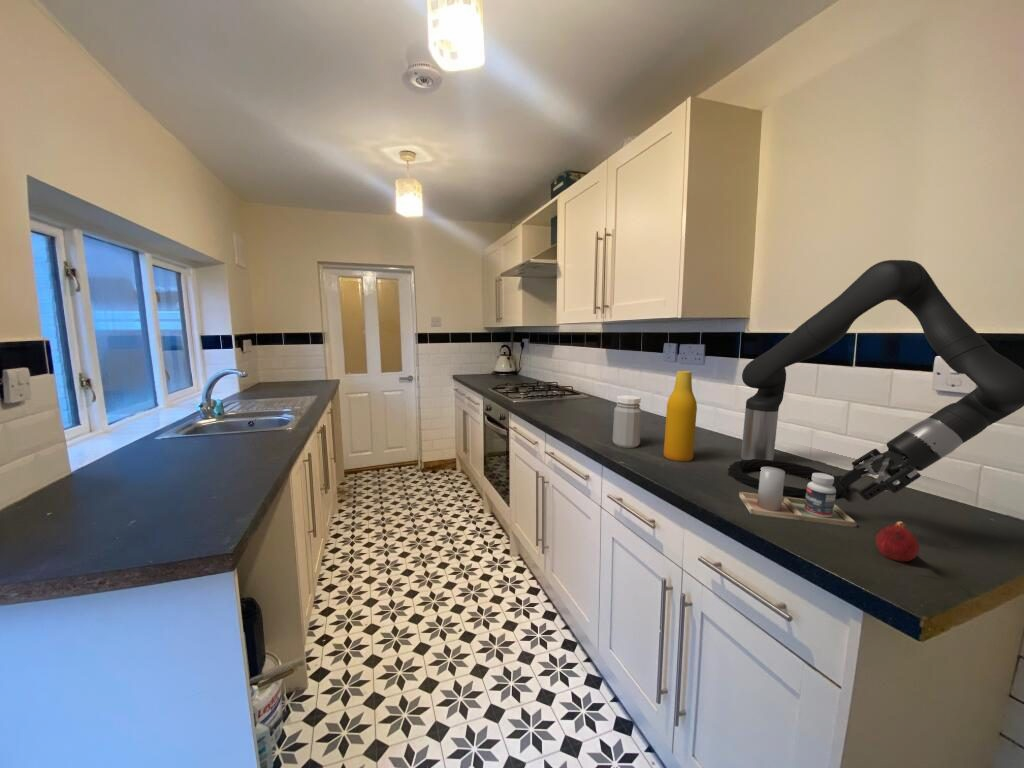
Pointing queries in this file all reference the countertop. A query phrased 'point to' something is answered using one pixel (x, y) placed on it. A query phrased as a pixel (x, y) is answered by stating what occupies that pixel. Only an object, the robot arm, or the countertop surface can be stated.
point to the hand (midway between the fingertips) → (851, 489)
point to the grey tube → (771, 488)
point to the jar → (627, 421)
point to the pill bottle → (820, 495)
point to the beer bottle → (681, 420)
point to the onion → (897, 543)
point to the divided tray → (795, 511)
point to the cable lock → (791, 468)
